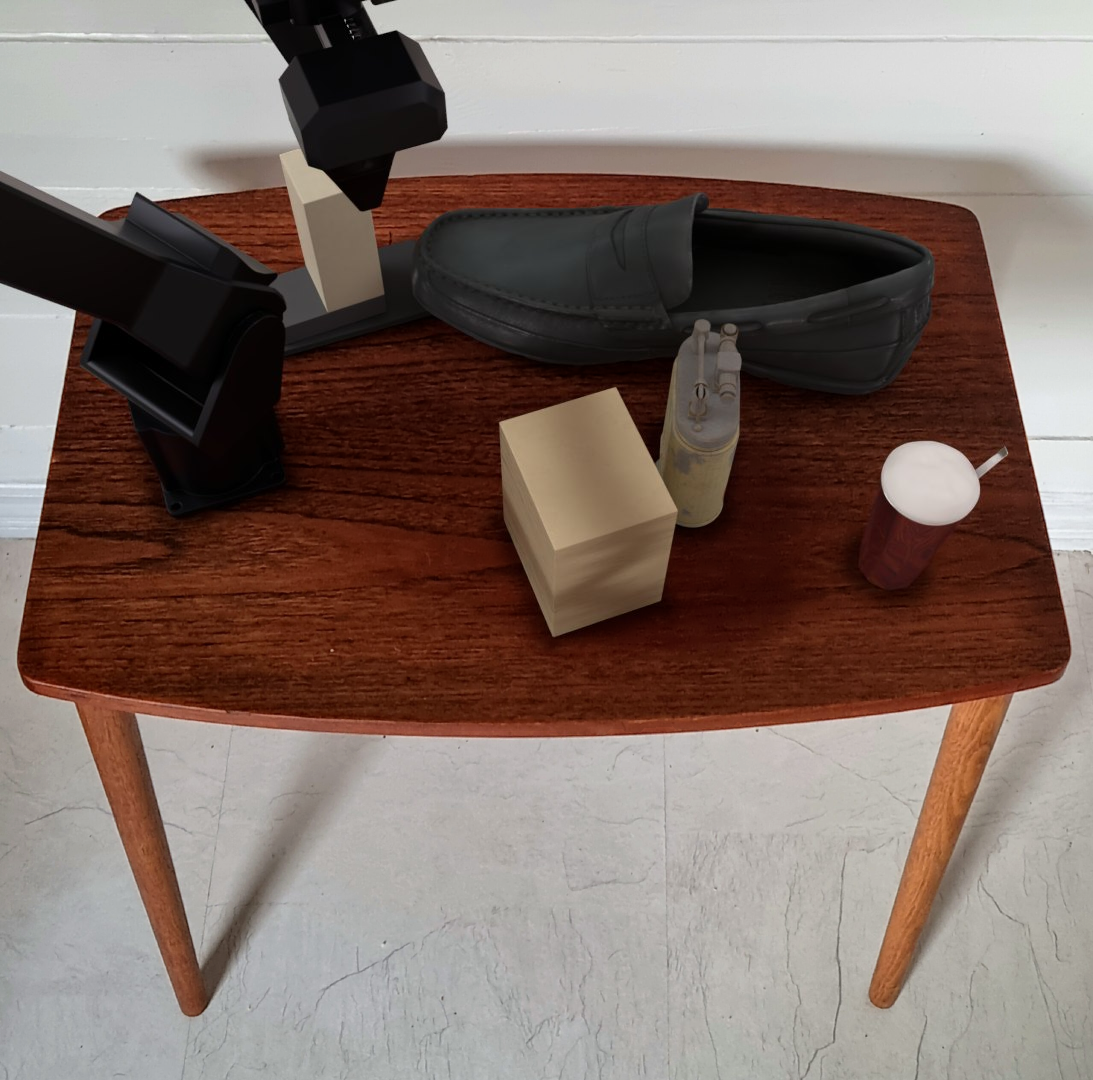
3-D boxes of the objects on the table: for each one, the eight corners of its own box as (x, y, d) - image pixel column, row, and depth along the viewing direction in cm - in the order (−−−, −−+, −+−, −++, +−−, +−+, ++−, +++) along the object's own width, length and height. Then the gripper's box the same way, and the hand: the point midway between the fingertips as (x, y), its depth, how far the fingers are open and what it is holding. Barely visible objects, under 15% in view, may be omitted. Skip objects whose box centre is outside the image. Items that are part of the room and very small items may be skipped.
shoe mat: (246, 367, 71) (245, 362, 70) (224, 295, 73) (222, 289, 73) (444, 312, 73) (443, 306, 72) (414, 244, 75) (414, 238, 75)
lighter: (722, 531, 65) (750, 422, 57) (651, 526, 65) (668, 417, 57) (722, 423, 69) (749, 304, 60) (655, 418, 69) (672, 300, 60)
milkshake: (958, 593, 63) (1024, 491, 55) (858, 607, 63) (909, 507, 54) (931, 519, 66) (990, 410, 57) (834, 532, 65) (880, 424, 57)
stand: (552, 637, 62) (555, 550, 54) (503, 519, 66) (498, 421, 58) (661, 601, 63) (678, 510, 55) (606, 486, 67) (616, 386, 59)
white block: (387, 311, 72) (367, 184, 63) (282, 346, 71) (246, 221, 62) (364, 265, 74) (341, 135, 65) (261, 298, 73) (224, 170, 64)
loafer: (427, 245, 75) (412, 113, 67) (899, 278, 74) (948, 147, 65) (403, 378, 70) (384, 254, 61) (910, 415, 69) (964, 294, 60)
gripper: (564, -72, 45) (559, 229, 59) (405, -315, 54) (432, -3, 67) (273, -1, 43) (337, 294, 57) (156, -265, 52) (236, 46, 65)
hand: (342, 145), depth 62 cm, fingers open, 9 cm apart
